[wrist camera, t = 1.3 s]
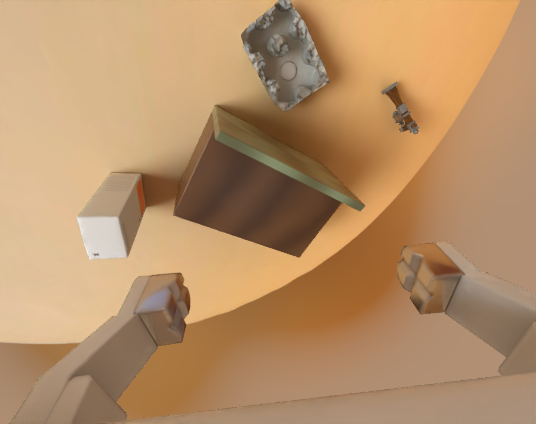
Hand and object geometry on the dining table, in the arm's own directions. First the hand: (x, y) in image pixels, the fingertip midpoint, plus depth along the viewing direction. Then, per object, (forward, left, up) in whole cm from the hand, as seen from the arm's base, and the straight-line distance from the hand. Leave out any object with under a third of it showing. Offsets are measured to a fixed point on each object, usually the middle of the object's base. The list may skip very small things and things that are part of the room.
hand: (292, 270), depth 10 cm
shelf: (+8, -7, -31) cm, 33 cm away
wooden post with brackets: (+22, +13, -31) cm, 40 cm away
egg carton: (+3, +9, -31) cm, 33 cm away
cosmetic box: (-8, -17, -31) cm, 37 cm away
